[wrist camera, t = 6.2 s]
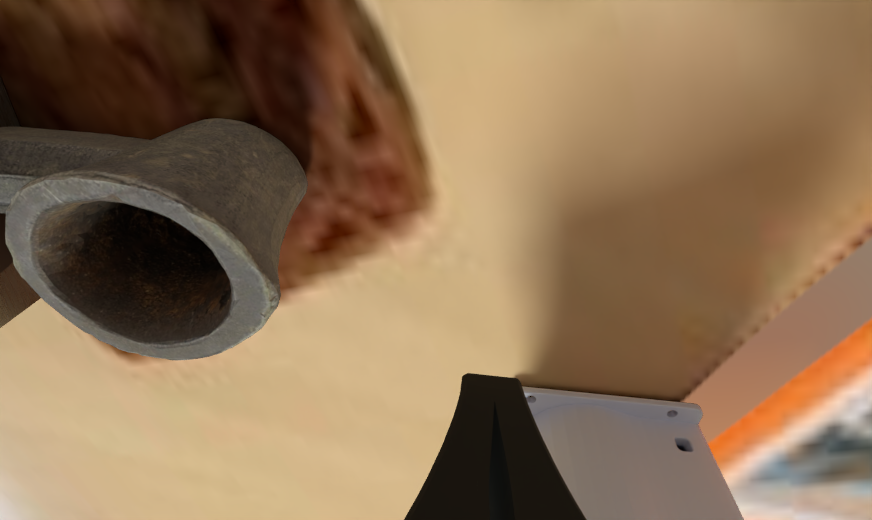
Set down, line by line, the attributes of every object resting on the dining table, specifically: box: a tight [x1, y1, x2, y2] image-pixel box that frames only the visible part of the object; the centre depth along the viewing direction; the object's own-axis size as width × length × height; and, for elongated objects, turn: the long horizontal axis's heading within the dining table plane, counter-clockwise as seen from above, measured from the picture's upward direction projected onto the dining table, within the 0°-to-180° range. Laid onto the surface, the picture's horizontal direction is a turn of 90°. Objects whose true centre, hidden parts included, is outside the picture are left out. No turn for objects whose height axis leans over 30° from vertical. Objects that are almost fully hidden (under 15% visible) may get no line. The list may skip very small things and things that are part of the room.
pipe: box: [0, 118, 308, 360], centre depth 16 cm, size 6×13×8 cm, turn 86°
